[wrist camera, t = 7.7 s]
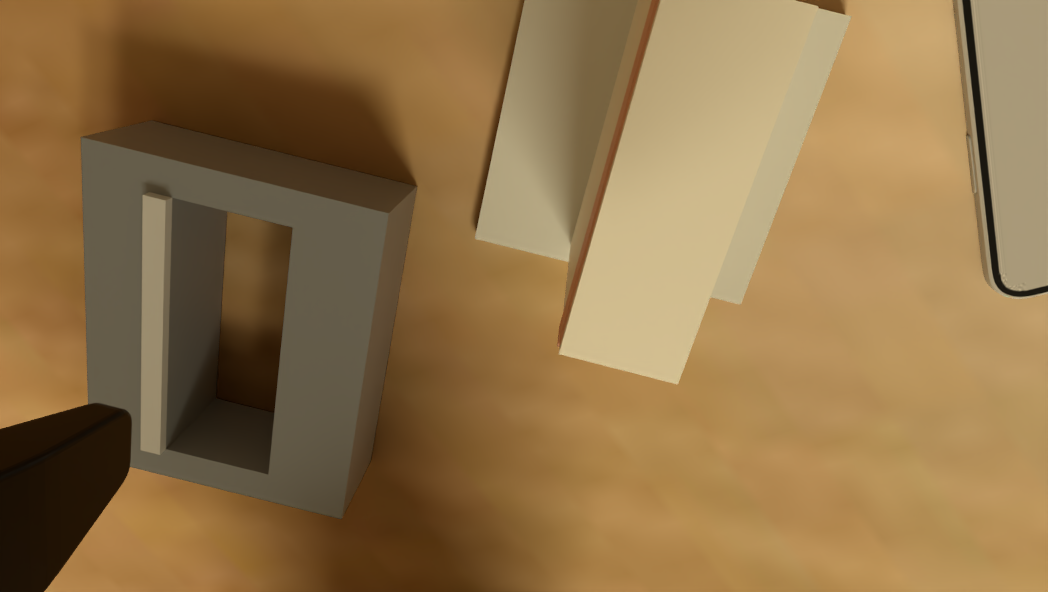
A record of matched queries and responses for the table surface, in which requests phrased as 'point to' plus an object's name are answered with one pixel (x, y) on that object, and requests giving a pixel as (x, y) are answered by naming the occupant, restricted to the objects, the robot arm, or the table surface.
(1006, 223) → the smartphone
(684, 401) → the table surface
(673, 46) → the cream rectangular block
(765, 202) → the mat
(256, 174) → the dispenser
